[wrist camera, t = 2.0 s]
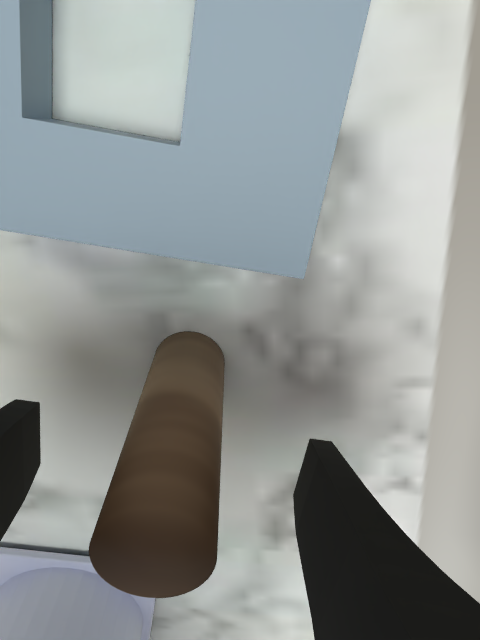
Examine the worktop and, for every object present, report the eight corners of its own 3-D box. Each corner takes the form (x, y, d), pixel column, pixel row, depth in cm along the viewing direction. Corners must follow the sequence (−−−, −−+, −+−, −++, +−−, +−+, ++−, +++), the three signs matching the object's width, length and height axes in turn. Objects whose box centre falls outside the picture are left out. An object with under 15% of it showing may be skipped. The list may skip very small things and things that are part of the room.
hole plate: (295, 260, 15) (303, 279, 13) (-79, 198, 14) (-126, 209, 12) (384, -129, 11) (414, -181, 9) (-130, -253, 10) (-213, -339, 8)
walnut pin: (218, 397, 17) (207, 603, 10) (151, 387, 17) (87, 591, 9) (229, 337, 16) (226, 517, 9) (157, 326, 16) (91, 501, 8)
